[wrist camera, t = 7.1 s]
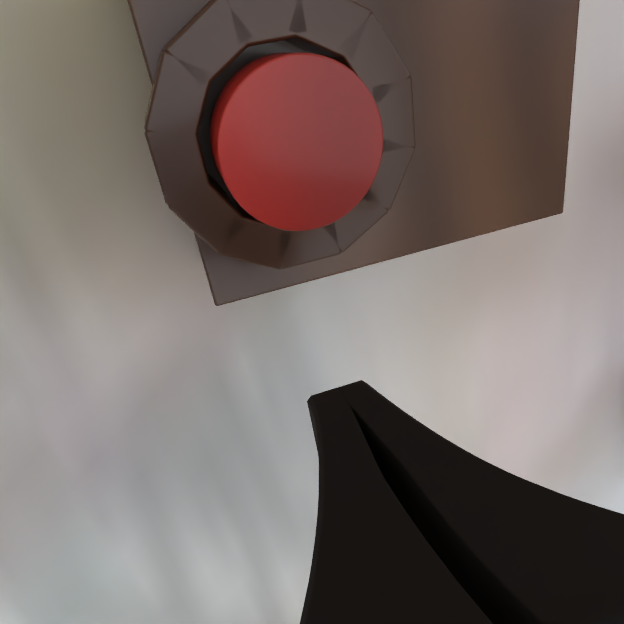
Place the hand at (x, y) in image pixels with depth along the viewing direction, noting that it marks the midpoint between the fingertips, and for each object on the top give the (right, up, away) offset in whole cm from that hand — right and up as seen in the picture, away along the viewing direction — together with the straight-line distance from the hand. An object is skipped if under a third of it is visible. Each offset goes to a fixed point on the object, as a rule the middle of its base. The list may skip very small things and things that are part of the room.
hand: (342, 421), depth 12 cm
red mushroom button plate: (+1, +10, +7) cm, 13 cm away
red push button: (-1, +7, +2) cm, 7 cm away
